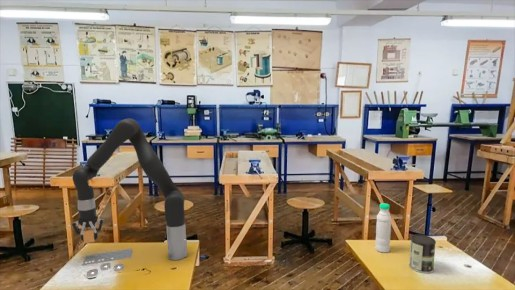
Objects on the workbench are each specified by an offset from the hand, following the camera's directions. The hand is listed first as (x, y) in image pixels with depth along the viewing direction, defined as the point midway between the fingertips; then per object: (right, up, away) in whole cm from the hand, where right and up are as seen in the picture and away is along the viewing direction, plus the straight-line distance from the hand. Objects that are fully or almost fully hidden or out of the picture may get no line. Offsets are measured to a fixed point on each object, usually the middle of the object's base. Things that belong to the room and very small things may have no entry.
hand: (89, 240), depth 154 cm
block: (0, 0, 0) cm, 0 cm away
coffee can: (+160, -10, -9) cm, 161 cm away
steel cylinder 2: (+12, -12, -8) cm, 19 cm away
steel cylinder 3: (+19, -12, -9) cm, 24 cm away
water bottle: (+149, -8, +8) cm, 149 cm away
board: (+8, -10, +2) cm, 13 cm away
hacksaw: (+29, -11, 0) cm, 31 cm away
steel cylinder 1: (+9, -13, -13) cm, 20 cm away
